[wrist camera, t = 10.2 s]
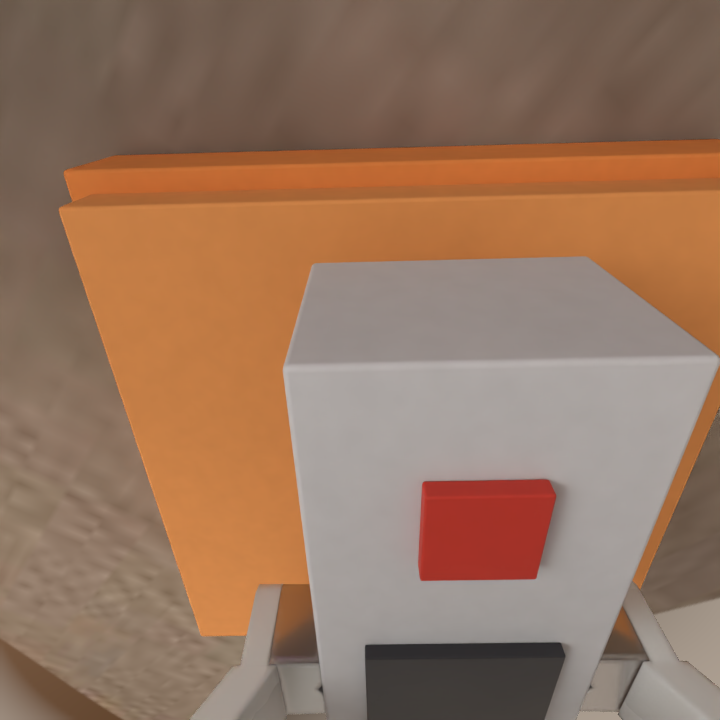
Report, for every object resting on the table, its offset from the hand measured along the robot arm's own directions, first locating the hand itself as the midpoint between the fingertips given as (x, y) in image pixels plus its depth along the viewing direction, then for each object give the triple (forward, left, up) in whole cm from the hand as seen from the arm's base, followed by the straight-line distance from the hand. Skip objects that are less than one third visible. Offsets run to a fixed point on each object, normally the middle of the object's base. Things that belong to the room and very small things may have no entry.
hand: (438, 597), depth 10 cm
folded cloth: (0, 0, -7) cm, 7 cm away
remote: (0, 0, -2) cm, 2 cm away
